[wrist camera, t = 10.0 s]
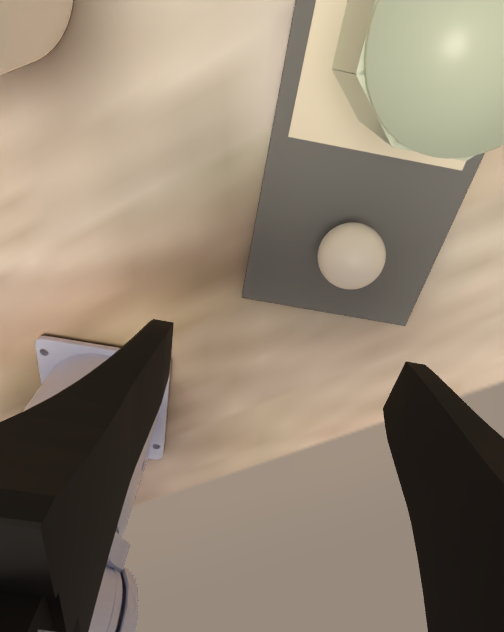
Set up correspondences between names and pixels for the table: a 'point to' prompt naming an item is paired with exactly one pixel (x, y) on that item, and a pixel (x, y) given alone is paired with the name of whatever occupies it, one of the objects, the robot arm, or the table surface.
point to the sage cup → (426, 73)
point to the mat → (343, 188)
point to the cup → (30, 30)
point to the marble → (351, 255)
